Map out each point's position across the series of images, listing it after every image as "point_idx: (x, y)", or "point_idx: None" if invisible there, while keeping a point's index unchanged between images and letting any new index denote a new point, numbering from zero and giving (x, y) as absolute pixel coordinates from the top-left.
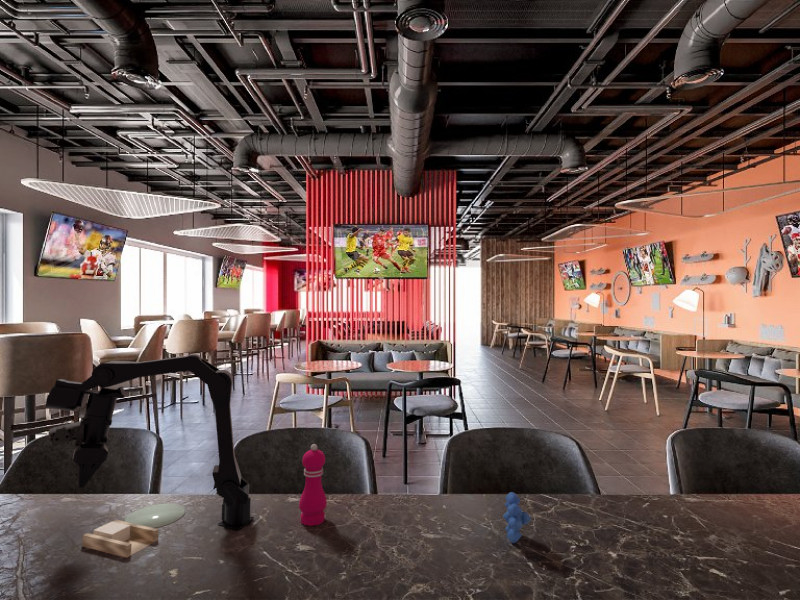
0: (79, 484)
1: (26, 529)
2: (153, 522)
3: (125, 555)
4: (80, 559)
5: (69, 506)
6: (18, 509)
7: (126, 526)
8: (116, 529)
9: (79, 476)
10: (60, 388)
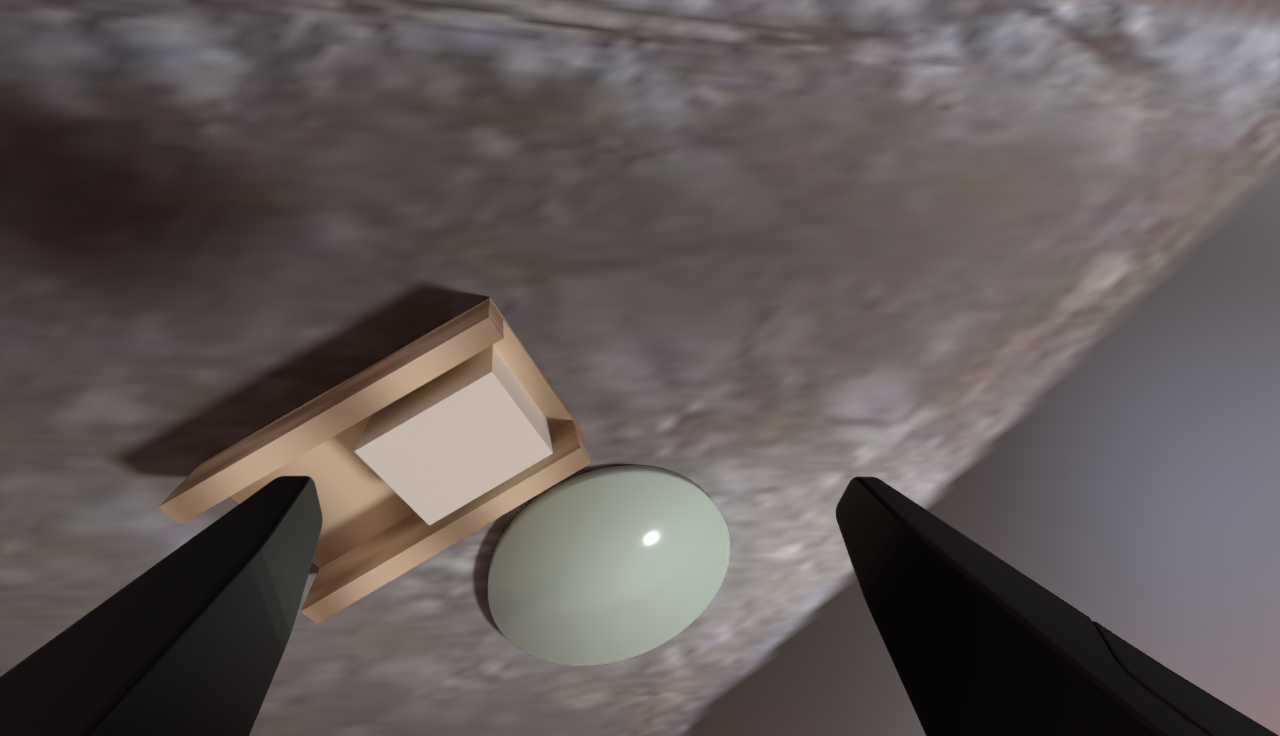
0: (229, 520)
1: (927, 79)
2: (535, 570)
3: (199, 468)
4: (342, 280)
5: (1021, 277)
6: (1191, 71)
7: (428, 511)
8: (416, 470)
9: (15, 675)
10: None
